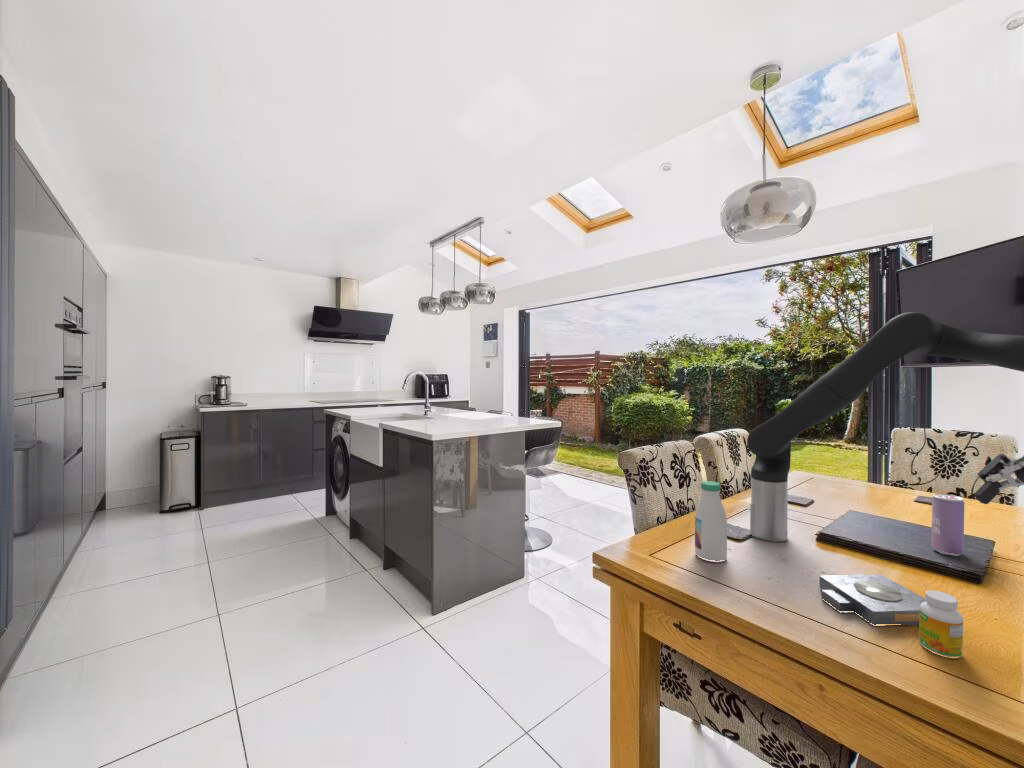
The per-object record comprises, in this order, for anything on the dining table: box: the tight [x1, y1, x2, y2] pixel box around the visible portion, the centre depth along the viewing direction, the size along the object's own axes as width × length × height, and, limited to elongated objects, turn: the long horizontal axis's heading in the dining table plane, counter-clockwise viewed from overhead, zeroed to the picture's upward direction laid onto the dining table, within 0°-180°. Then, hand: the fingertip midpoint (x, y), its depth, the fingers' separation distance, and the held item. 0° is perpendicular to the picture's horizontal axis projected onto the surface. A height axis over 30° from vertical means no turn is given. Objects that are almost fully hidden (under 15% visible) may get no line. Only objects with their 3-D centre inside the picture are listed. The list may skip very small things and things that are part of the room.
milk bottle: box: [694, 480, 728, 561], centre depth 111 cm, size 8×8×20 cm
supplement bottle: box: [918, 589, 964, 658], centre depth 74 cm, size 5×5×10 cm
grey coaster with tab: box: [819, 573, 926, 625], centre depth 88 cm, size 17×14×3 cm
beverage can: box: [930, 493, 965, 554], centre depth 112 cm, size 6×6×15 cm
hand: (1007, 508), depth 73 cm, fingers open, 8 cm apart
